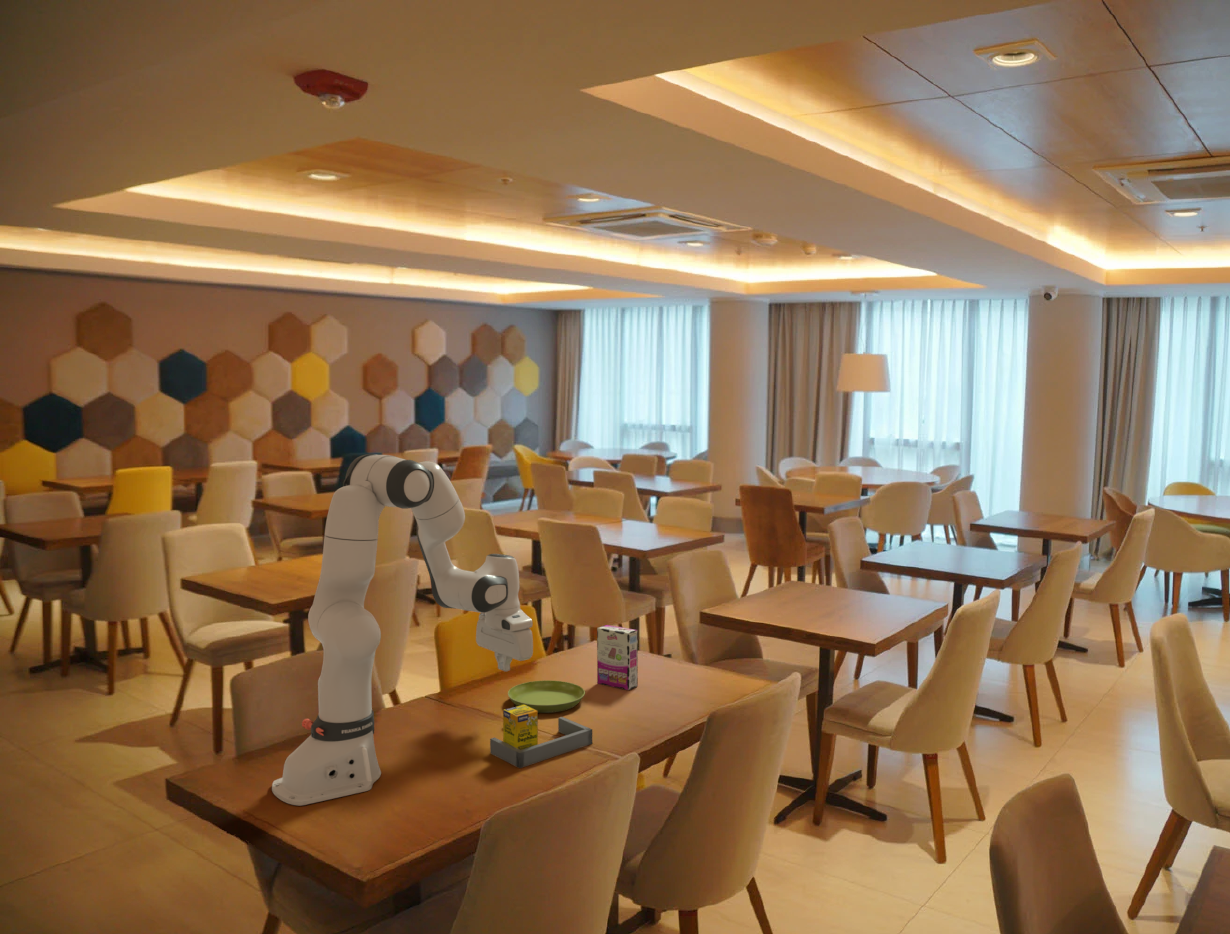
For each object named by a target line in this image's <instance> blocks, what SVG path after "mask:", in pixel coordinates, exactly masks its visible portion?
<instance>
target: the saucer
mask: <svg viewBox="0 0 1230 934" xmlns="http://www.w3.org/2000/svg"><path fill="white" fill-rule="evenodd" d="M585 694H586V691H585V689H584V688H583V687H582V686H580V685H578V684H577V683H576V684H575V683H573V682H568V681H562V680H535V681H527V682H523V683H520V684H516V685H514V686H512V687H511V688H509V690H508V691H507V695H508V698H509V699H510V701H511V702H512V703H513V704H514V705H515V707H517V706H521V705H526V706H528V707H530V708H532V709H535V710H536V711H538V714H539V713H540V714H548V713H551V714H552V713H559V712H560V713H561V712H564V711H568V710H570V709H572V708H575V706H577V705H578V704H579V702H581V700H582V699H583V698H584V696H585Z"/></svg>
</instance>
